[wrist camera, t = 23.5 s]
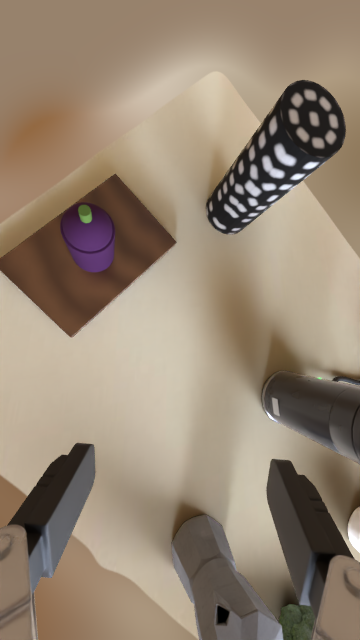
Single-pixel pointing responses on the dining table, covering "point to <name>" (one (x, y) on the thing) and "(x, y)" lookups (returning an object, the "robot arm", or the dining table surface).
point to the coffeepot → (219, 586)
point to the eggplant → (89, 236)
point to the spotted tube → (278, 155)
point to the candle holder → (354, 529)
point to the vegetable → (297, 622)
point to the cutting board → (72, 281)
